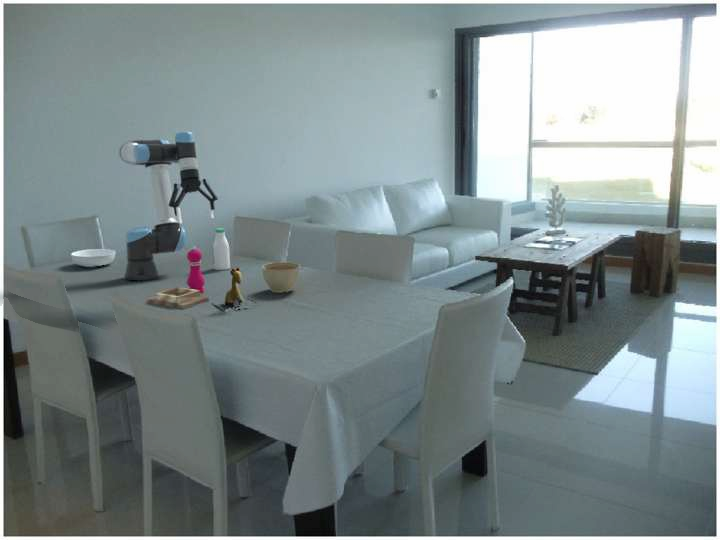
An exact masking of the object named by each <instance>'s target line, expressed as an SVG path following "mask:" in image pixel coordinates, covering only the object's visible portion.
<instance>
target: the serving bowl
mask: <svg viewBox="0 0 720 540" xmlns="http://www.w3.org/2000/svg"><path fill="white" fill-rule="evenodd" d="M70 256H71V259H72V261H73V262H74V263H75V264H76V265H78V266H81V267H86V268H96V267H95V266H101V267H103V266H102V265H104V266H106V265H109V264H110V263H112V262H114V259H115V258H116V250H113V249H108V248H107V249H105V248H92V249H82V250H76V251H74V252H72V253H71V254H70Z"/></svg>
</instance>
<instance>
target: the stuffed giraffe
mask: <svg viewBox="0 0 720 540" xmlns="http://www.w3.org/2000/svg"><path fill="white" fill-rule="evenodd" d="M241 272H242V269H240V267H236V268H232V269H231V270H230V275H231V289H229V290H228V291H227V292H226V293H225V297H224V300H225V301H224V303H225V305H224V304H221V303H220V302H219V303H220V304H219V303H218V304H217V303H214V304H212V303H213V302H210V304H211V305H214V306H216V307H218V309H220V310H222V311H223V310H224V311H225V310H226V309H229V308H231V309H233V310H236V311H239V310H238V308H239V307H237V306H239V305H241V306H244V305H245V304H244V305H243V304H241V303H242V302H243V301H244V300H243V299H244V297H242V295H241V293H240V292H241V291H240V289H239V286H238V285H241V283H242V279H243V278H242V273H241ZM248 304H249V303H248ZM250 304H251V303H250ZM250 304H249V305H250ZM244 307H246V306H244ZM235 308H236V309H235ZM233 310H232V311H233ZM224 311H223V312H224Z"/></svg>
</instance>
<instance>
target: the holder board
mask: <svg viewBox="0 0 720 540" xmlns="http://www.w3.org/2000/svg"><path fill="white" fill-rule="evenodd" d="M206 301H207V302H209V301H210V297H209V296H205V295H204V296H203V295H201V294H200V290H193V289H189V288H187V287H186V288H185V287H178V286H176V287H173V288H169V289H166V290H163V291H159V292H156V293H154V296H152V297H149V298H147V299H146V302H147V303H148V304H152V305H153V304H154V305H159V306H166V307H171V308H178V309H183V310H185V309H189V308H191V306H192V307H194V305H195V306H198V305H200V303H201V304H203V303H202V302H204V303H207V302H206ZM197 304H198V305H197Z"/></svg>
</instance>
